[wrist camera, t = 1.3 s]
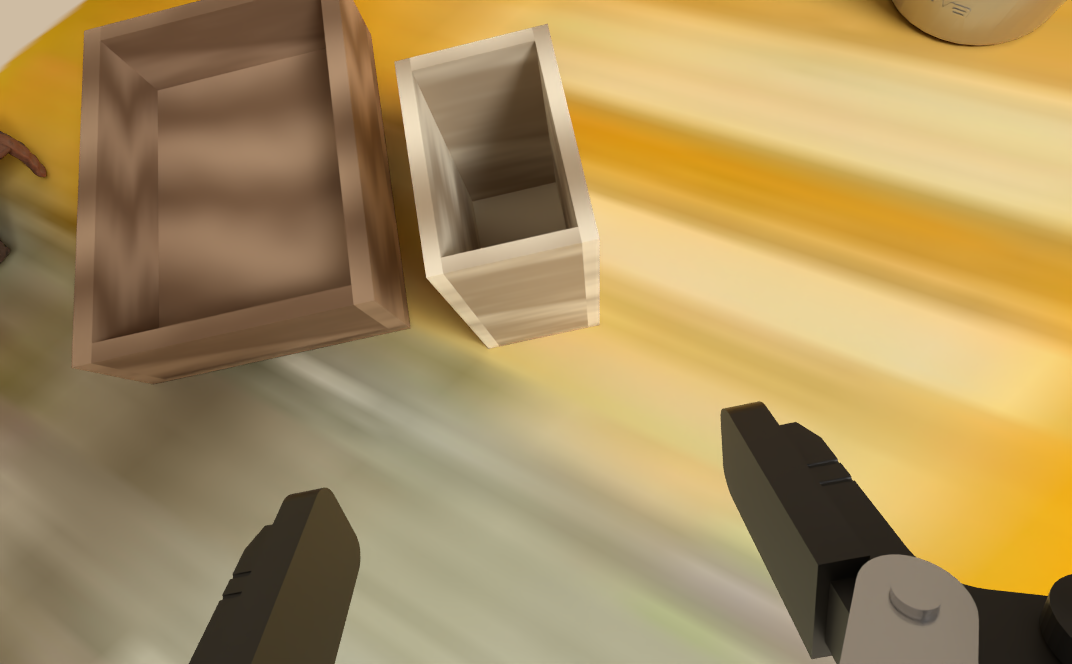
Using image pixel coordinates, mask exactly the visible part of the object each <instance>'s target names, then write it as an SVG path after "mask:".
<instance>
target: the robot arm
mask: <svg viewBox="0 0 1072 664" xmlns="http://www.w3.org/2000/svg"><path fill="white" fill-rule="evenodd" d="M892 1H893V3H894V5H895V6H896V8H897V9H898V11H899V12H900V13H901V14H902V15H903V16H904V17H905V18H906V19H907V20H908V21H909V22H910V23H912V24H913V25H915V26H916V27H918V28H919V29H921V30H922V31H924V32H926V33H928V34H930V35H933V36H935V37H937V38H939V39H942V40H946V41H950V42H954V43H958V44H967V45H991V44H1000V43H1004V42H1008V41H1012V40H1016V39H1018V38H1020V37H1022V36H1024V35H1026V34H1029V33H1031V32H1033V31H1034V30H1035V29H1036V28H1038V27H1039V26H1040V25H1042V24H1043V23H1044V22H1046V21H1047V20H1048V18H1049V17H1050V16H1051V15H1052V14H1053V13H1054V12H1055V11H1056V10H1057V9H1058V8H1059V7H1060V6H1061V5H1062V4H1063V3H1064V2H1065V1H1066V0H892ZM721 434H722V452H723V468H724V474H725V478H726V482H727V485H728V488H729V491H730V494H731V496H732V498H733V500H734V503H735V505H736V507H737V509H738V511H739V513H740V515H741V517H742V519H743V521H744V523H745V525H746V527H747V529H748V531H749V533H750V535H751V537H752V539H753V541H754V543H755V545H756V547H757V549H758V551H759V553H760V555H761V557H762V559H763V561H764V563H765V565H766V567H767V570H768V572H769V574H770V576H771V578H772V580H773V582H774V584H775V586H776V588H777V590H778V592H779V594H780V596H781V598H782V600H783V602H784V604H785V606H786V608H787V610H788V612H789V614H790V616H791V618H792V620H793V622H794V624H795V626H796V628H797V630H798V632H799V635H800V637H801V639H802V641H803V643H804V645H805V647H806V649H807V651H808V653H809V655H810V657H811V659H815V658H820V657H826V656H833V658H834V660H835V662H836V664H1072V574H1071V575H1067V576H1065V577H1063V578H1060V579H1059V580H1058V581H1057V582H1055V583H1054V585H1053V586H1052V588H1051V590H1050V592H1049V595H1048V596H1043V595H1034V594H1025V593H1016V592H1006V591H997V590H988V589H982V588H976V587H972V586H968V585H965V584H962V583H960V582H959V581H958V580H957V579H956V578H955V577H953V576H952V575H951V574H950V573H948V572H947V571H945V570H943V569H942V568H940V567H939V566H937V565H934V564H932V563H930V562H928V561H925V560H922V559H920V558H916V557H915V556H914V555H913V554H912V553H911V552H910V551H909V549H908V548H907V547H906V546H905V545H904V543H903V542H902V541H901V539H900V538H899V537H898V536H897V534H896V533H895V532H894V530H893V529H892V528H891V527H890V525H889V524H888V523H887V521H886V520H885V519H884V518H883V516H882V515H881V514H880V512H879V511H878V510H877V509H876V507H875V506H874V505H873V504H872V502H871V501H870V500H869V498H868V497H867V496H866V495H865V493H864V492H863V491H862V489H861V488H860V487H859V486H858V484H857V483H856V482H855V481H853V480H852V479H851V475H850V474H849V473H848V472H847V470H846V469H845V468H844V466H843V465H842V464H841V463H839V462H838V460H837V457H836V456H835V455H834V454H833V452H832V451H831V450H830V448H829V447H828V446H827V445H826V443H825V442H824V441H823V439H822V438H821V437H819V436H818V435H816V434H814V433H813V432H811V431H810V430H808V429H807V428H805V427H803V426H802V425H800V424H799V423H797V422H794V423H789V424H784V425H779V424H778V423H777V421H776V420H775V418H774V417H773V416H772V414H771V413H770V411H769V410H768V408H767V407H766V406H765V404H763V403H762V402H754V403H749V404H744V405H740V406H735V407H730V408H725V409H722V410H721ZM359 567H360V547H359V542H358V539H357V536H356V534H355V532H354V531H353V529H352V527H351V525H350V523H349V521H348V520H347V518H346V516H345V514H344V512H343V510H342V509H341V507H340V505H339V503H338V501H337V499H336V498H335V496H334V494H333V492H332V491H331V490H330V489H328V488H320V489H315V490H310V491H305V492H300V493H295V494H291V495H288V496H287V497H286V498H285V499H284V501H283V503H282V505H281V507H280V510H279V512H278V514H277V516H276V518H275V521H274V523H273V525H268V526H265V527H264V528H263V529H262V530H261V531H260V532H259V534H258V535H257V536H256V537H255V538H254V539H253V541H252V542H251V543H250V544H249V545H248V546H247V547H246V549H245V550H244V552H243V554H242V556H241V558H240V560H239V562H238V564H237V566H236V568H235V570H234V572H233V579H230V581H229V583H228V585H227V587H226V589H225V591H224V593H223V600H220V601H219V603H218V605H217V607H216V609H215V611H214V613H213V615H212V618H211V620H210V622H209V624H208V626H207V628H206V630H205V632H204V634H203V636H202V638H201V640H200V642H199V644H198V646H197V648H196V650H195V652H194V654H193V656H192V658H191V661H190V663H189V664H335V660H336V656H337V652H338V648H339V644H340V641H341V637H342V633H343V629H344V625H345V621H346V617H347V614H348V610H349V606H350V602H351V598H352V594H353V591H354V587H355V583H356V579H357V575H358V571H359Z"/></svg>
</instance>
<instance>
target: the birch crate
mask: <svg viewBox="0 0 1072 664" xmlns="http://www.w3.org/2000/svg"><path fill="white" fill-rule="evenodd" d="M395 68H396V75H397V82H398V89H399V96H400V102H401V109H402V116H403V123H404V130H405V137H406V143H407V150H408V157H409V164H410V171H411V177H412V184H413V191H414V198H415V205H416V212H417V218H418V225H419V232H420V239H421V246H422V253H423V259H424V266H425V273H426V278H427V279H428V280H429V281H430V283H431V284H432V285H433V286H434V287H435V288H436V289H437V290H438V292H439V293H440V294H441V295H442V296H443V297H444V298H445V300H446V301H447V302H448V303H449V304H450V305H451V306H452V307H453V309H454V310H455V311H456V312H457V313H458V314H459V315H460V317H461V318H462V319H463V320H464V321H465V322H466V323H467V324H468V326H469V327H470V328H471V329H472V330H473V331H474V332H475V334H476V335H477V336H478V337H479V338H480V339H481V340H482V341H483V343H484V344H485V345H486V346H487V347H488V348H494V347H498V346H503V345H508V344H512V343H517V342H522V341H526V340H531V339H536V338H540V337H545V336H550V335H554V334H559V333H563V332H568V331H573V330H577V329H582V328H587V327H591V326H596V325H599V293H600V238H599V234H598V230H597V226H596V222H595V218H594V214H593V209H592V205H591V201H590V197H589V193H588V189H587V185H586V181H585V176H584V172H583V168H582V164H581V160H580V156H579V152H578V148H577V144H576V139H575V135H574V131H573V127H572V123H571V119H570V115H569V111H568V106H567V102H566V98H565V94H564V90H563V86H562V82H561V78H560V73H559V69H558V65H557V61H556V57H555V53H554V49H553V45H552V40H551V36H550V32H549V28H548V24H545V25H541V26H537V27H533V28H529V29H525V30H521V31H517V32H513V33H509V34H505V35H500V36H496V37H492V38H488V39H484V40H480V41H476V42H472V43H468V44H464V45H460V46H456V47H452V48H448V49H444V50H440V51H436V52H432V53H428V54H424V55H420V56H416V57H412V58H408V59H404V60H400V61H396V62H395Z"/></svg>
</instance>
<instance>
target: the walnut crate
mask: <svg viewBox="0 0 1072 664" xmlns="http://www.w3.org/2000/svg"><path fill="white" fill-rule="evenodd" d="M409 328H410V321H409V314H408V306H407V299H406V291H405V284H404V277H403V269H402V262H401V254H400V247H399V239H398V232H397V225H396V217H395V210H394V202H393V195H392V187H391V180H390V173H389V165H388V158H387V150H386V143H385V136H384V128H383V121H382V113H381V106H380V98H379V91H378V84H377V76H376V69H375V61H374V54H373V46H372V39H371V34H370V32H369V30H368V28H367V26H366V24H365V22H364V20H363V19H362V17H361V15H360V13H359V11H358V9H357V7H356V5H355V3H354V1H353V0H201V1H197V2H193V3H189V4H185V5H182V6H178V7H174V8H170V9H166V10H162V11H159V12H155V13H151V14H147V15H143V16H139V17H136V18H132V19H128V20H124V21H120V22H116V23H112V24H109V25H105V26H101V27H97V28H93V29H89V30H86V31H84V54H83V81H82V107H81V133H80V160H79V186H78V212H77V239H76V265H75V292H74V318H73V344H72V368H75V369H80V370H85V371H90V372H95V373H100V374H105V375H110V376H115V377H120V378H125V379H130V380H135V381H140V382H145V383H150V384H157V383H162V382H166V381H171V380H175V379H180V378H185V377H189V376H194V375H198V374H203V373H207V372H212V371H217V370H221V369H226V368H230V367H235V366H240V365H244V364H249V363H253V362H258V361H262V360H267V359H272V358H276V357H281V356H285V355H290V354H294V353H299V352H304V351H308V350H313V349H317V348H322V347H326V346H331V345H336V344H340V343H345V342H349V341H354V340H358V339H363V338H368V337H372V336H377V335H381V334H386V333H390V332H395V331H400V330H404V329H409Z"/></svg>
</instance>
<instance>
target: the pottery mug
mask: <svg viewBox="0 0 1072 664" xmlns="http://www.w3.org/2000/svg"><path fill="white" fill-rule="evenodd" d="M8 153H9V154H10V155H12V156H14V157H16V158H18V159H19V160H21V161H22V162H23V163H24V164H26V165H27V166H28V167H29V168H30V169H31V170H32V171H33V173H34V174H36V175H37V176H40V177H46V170H45V167H44V166H43V165H42V164H41V163H40V162H39V160H38V159H37V157H36V156H35V155H33V154H32V153H31V152H30V151H29V149H28V148H27V147H25V145H24V144H23V143H21V142H19V141H17V140H15V139H14V138H12V137H11V136H9V135H7V134H5V133H3V132H1V131H0V159H2V158H3V157H4V156H6V155H7V154H8ZM9 252H10V249H9V248H8V247H7V246H5V245H4V244H3V242H2V241H0V263H1V262H2V261H3V260H4V259H5V258H6V257H7V255H8V253H9Z"/></svg>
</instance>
